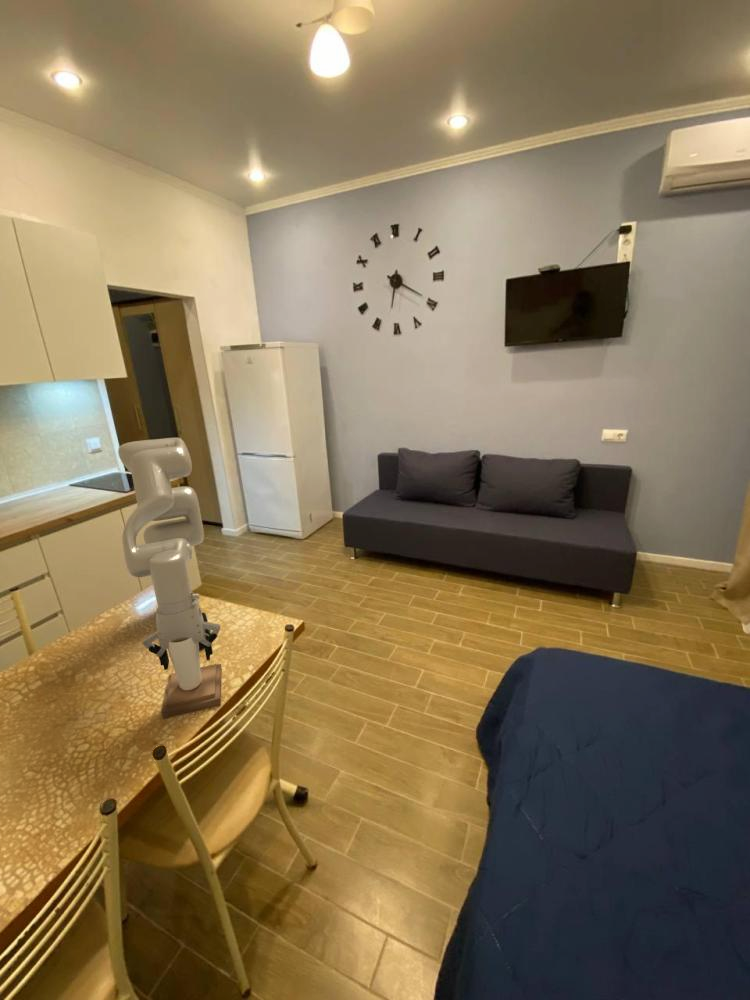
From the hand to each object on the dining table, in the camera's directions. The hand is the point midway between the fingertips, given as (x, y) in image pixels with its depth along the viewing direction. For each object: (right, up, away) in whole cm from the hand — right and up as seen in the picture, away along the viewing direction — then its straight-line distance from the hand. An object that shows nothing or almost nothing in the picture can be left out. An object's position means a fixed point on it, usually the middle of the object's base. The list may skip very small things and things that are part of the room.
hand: (188, 661), depth 104 cm
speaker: (-6, -3, +22) cm, 23 cm away
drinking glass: (0, -7, +2) cm, 7 cm away
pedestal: (0, -9, +3) cm, 10 cm away
